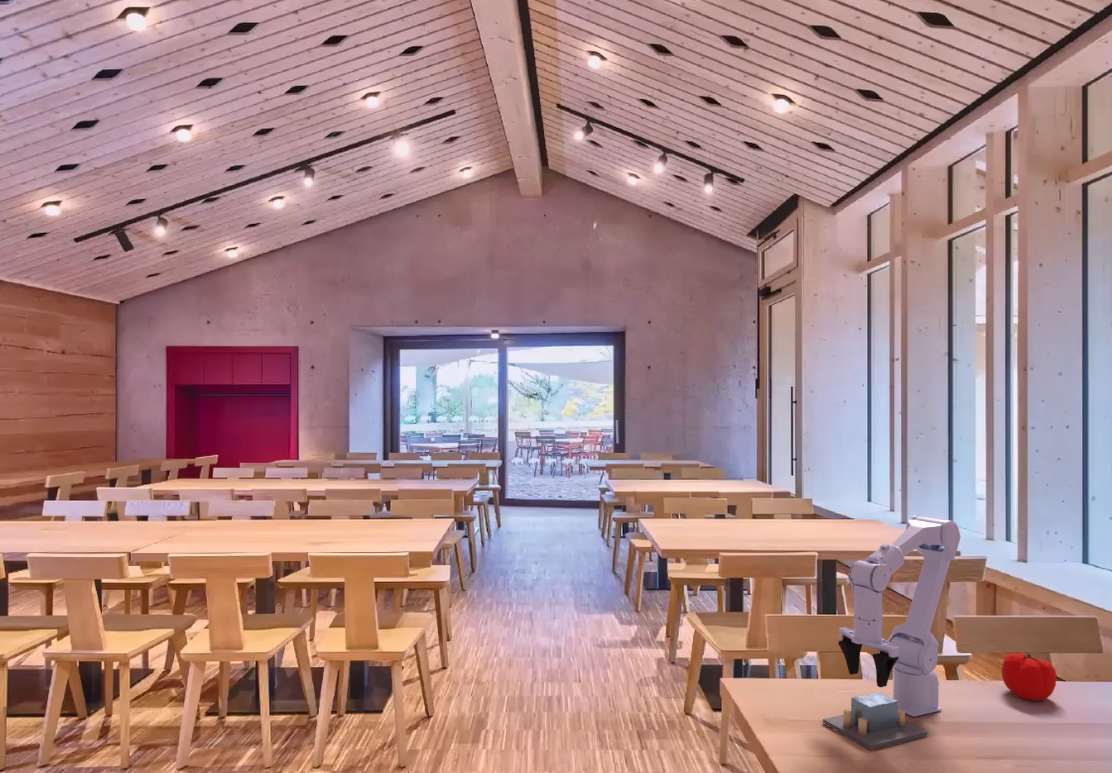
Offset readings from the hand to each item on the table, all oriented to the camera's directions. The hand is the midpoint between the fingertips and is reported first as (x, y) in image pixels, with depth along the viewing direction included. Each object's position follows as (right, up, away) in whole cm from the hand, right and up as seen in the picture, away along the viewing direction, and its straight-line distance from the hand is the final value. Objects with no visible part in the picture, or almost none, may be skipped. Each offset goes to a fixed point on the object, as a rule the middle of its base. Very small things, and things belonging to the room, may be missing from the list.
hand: (867, 679), depth 159 cm
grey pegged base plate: (0, -9, -4) cm, 10 cm away
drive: (0, -8, -4) cm, 9 cm away
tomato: (+46, -11, +16) cm, 50 cm away
